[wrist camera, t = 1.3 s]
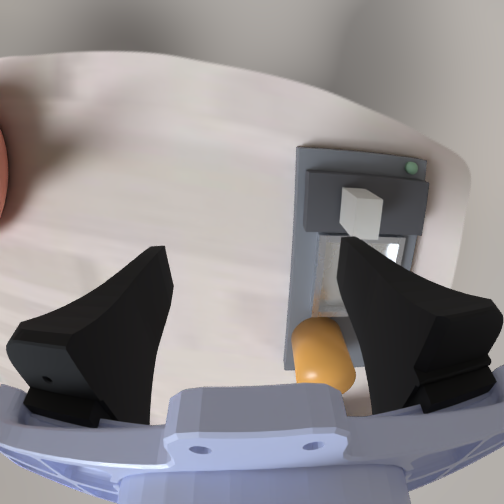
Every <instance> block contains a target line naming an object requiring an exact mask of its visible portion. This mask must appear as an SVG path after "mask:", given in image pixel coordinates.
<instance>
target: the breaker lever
mask: <svg viewBox="0 0 504 504" xmlns="http://www.w3.org/2000/svg"><path fill="white" fill-rule="evenodd" d="M382 206H383V199H381V198H380V197H378V196H376V195H375V194H373V193H371V192H370V191H368V190H366V189H361V188H346V187H342V199H341V211H340V222H339V223H340V224H341V225H342V226H343V228H344V229H345V230H346V231H347V233H348V234H349V235H350V236H355V237H357V238H359V239H366V240H378V237H379V230H380V222H381V214H382Z"/></svg>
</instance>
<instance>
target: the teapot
mask: <svg viewBox="0 0 504 504" xmlns="http://www.w3.org/2000/svg"><path fill="white" fill-rule="evenodd" d="M7 187H8V157H7V150H6V145H5V141H4V138H3V135H2V132H1V130H0V218H1V214H2V211H3V208H4V204H5V199H6V194H7Z"/></svg>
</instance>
